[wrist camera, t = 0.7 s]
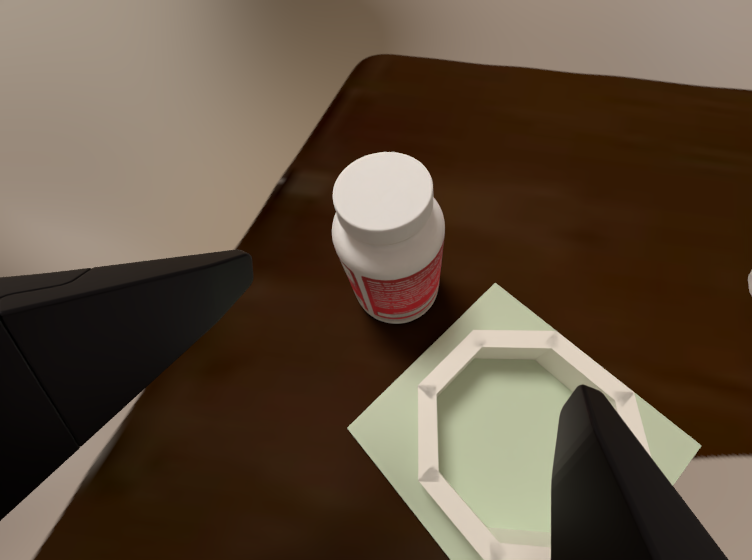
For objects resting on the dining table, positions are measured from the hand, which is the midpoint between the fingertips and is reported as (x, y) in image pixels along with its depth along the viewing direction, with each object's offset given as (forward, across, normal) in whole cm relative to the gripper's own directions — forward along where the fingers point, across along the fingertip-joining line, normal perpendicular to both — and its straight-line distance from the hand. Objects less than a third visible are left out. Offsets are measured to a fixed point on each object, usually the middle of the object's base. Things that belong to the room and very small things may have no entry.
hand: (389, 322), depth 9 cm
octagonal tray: (+8, -7, +12) cm, 16 cm away
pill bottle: (+14, +4, +8) cm, 17 cm away
